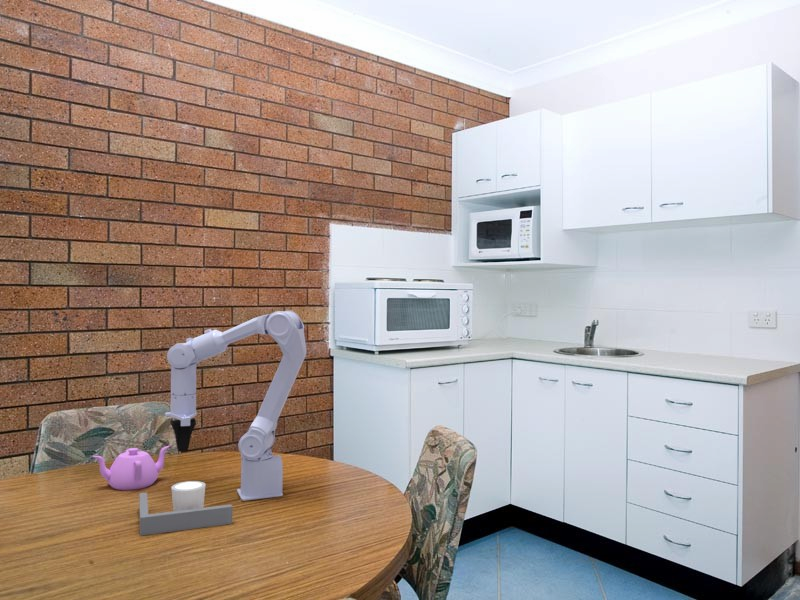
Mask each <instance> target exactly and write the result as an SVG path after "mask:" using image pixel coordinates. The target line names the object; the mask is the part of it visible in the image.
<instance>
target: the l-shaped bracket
mask: <svg viewBox="0 0 800 600" xmlns="http://www.w3.org/2000/svg"><path fill="white" fill-rule="evenodd" d="M148 504H149V503H148V492H139V504H138V505H139V506H138V507H139V508H138V509H139V510H138V511H139V513H138V515H139V516H138V517H139V536H140V537H141V536H149V535H156V534H163V533H172V532H180V531H186V530H187V531H188V530H194V529H202V528H209V527H210V528H211V527H217V526H225V525H232V524H233V511H234V510H233V505H232V503H231V504H223V505H216V506H215V505H214V506H208V507H207V506H206V507H203V508H197V509H189V510H180V511H173V510H172V511H165V512H156V513H149V505H148Z"/></svg>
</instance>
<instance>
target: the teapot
mask: <svg viewBox="0 0 800 600" xmlns="http://www.w3.org/2000/svg"><path fill="white" fill-rule="evenodd" d="M170 447H171V445H170V444H169V445H166V446H164V447H162V448H160V451H159V454H158V455H159V456H158V460H157V462H155V461H154V459H153V457H152V456H151V455H150V454H149V453H148V452H147V451H143V450H140V451H139V448H138V447H130V448H127V449H125V451H124V452H122V453H120V454H119V455H117V457H116V458H115V460H114V461H113V463H112V465H111V466H110V468H107V467H106V462H105V461H106V460H105V459H104V457H103V456H100V455H92V457H93V458H94V459H96V460H97V462H98V465H99V473H100V475H101V477H102V478H103V479H105V480H106V481H107V483H108V485H110V487H111V488H112V489H114V490H119V491H133V490H139V489H144V488H147V487H148V488H149V486H151V485H153V484H154V483H155V481H157V479H158V476H159V474H160V472H161V471H162V470H163V468H164V465H165V455H166V454H165V453H166V452H167V450H168V449H169V448H170Z"/></svg>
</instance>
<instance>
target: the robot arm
mask: <svg viewBox="0 0 800 600" xmlns="http://www.w3.org/2000/svg"><path fill="white" fill-rule="evenodd" d="M256 334H260V335H269V336H270V337H271V338H272V339H273V340H274V341H275V342H276V343H277V345H278V346H279V348H280V350H281V353H282V354H283V355H282V358H281V359H280V362H279V364H278V366H277V368H276V369H277V370H276V371H275V373H274V375H273V379H272V380H271V382H270V384H269V387H268V389H267V392H266V394H265V396H264V399H263V401H262V403H261V405H260V408H259V410H258V412H257V415H256V416H255V418H254V419H253V421H252V423H251V424H250V426H249V428H248V430H247V431H246V432H245V434H243V435H242V436H241V437H240V439H239V441H238V445H237V446H238V447H237V448H238V451H239V454H240V457H241V459H240V462H241V463H240V488H237V489H236V492H237V493H238V494H237V495H239V498H240V500H241V501H244V502H245V501H246V502H247V501H251V500H252V501H253V500H261V499H270V498H276V497H277V498H278V497H283V496H284V494H283V476H284V474H283V471H284V468H283V466H284V465H283V460H282V456H281V455H279V454H274V453H273V452H272V449H271V447H272V446H273V445H274V443H275V440H276V436H275V435H276V430H277V427H278V420H279V418H280V415H281V413H282V410H284V409H283V408H284V406H285V404H286V402H287V399H288V397H289V395H290V393H291V390H292V388H293V385H294V383H295V381H296V379H297V377H298V374H299V373H300V372H299V371H300V369H301V368H302V365H303V363H304V360H305V358H306V356H307V351H308V350H307V344H306V338H305V324H304V323H303V321H302V320H301V318H300V316H299V315H298V314H297V313H296V312H294V311H293V310H283V311H281V310H278V311H274V312H272V313H269V314H268V313H267V314H263V315H260V316H257V317H256V316H255V317H254V318H252V319H249V320H247V321H245V322H242V323H241V324H238V325H236V326H234V327H231V328H229V329H227V330H225V331H220V330H218V329H213V330H212V329H206V330H204V334H200V335H198V336H196V337H194V338H192V337H187V338H186V340H185V341H186V342H181V343H179V342H177V343H176V344H174V345H173V346H171V347H170V348H169V349H168V350H167V353H166V358H167V363H168V364H169V365H170V411H167V412H165V413H164V416H165V417H166V418H167V417H170V418H172V419H173V420H170V426H171V428H172V429H173V432H174V435H175V436H174V437H175V442H176V443H175V444H176V448H177V451H178V452H188V451H189V447H190V442H191V437H192V433H193V431H194V429H195V427H196V425H197V421H196V420H197V419H196V418H194V417H196V416H197V415H198V412H197V364H198V363H199V362H203V361H205V360H207V359H210V358H213V357H215V356H217V355H220V354H222V353H224V352H226V350H227V348H228V345H229V344H231V343H234V342H235V343H236V342H237V341H240V340H242V339H246V338H248V337H251V336H254V335H256Z"/></svg>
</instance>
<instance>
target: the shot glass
mask: <svg viewBox="0 0 800 600" xmlns="http://www.w3.org/2000/svg"><path fill="white" fill-rule="evenodd" d="M170 488H171V498H172V509H173V510H172V511H180V510H189V509H197V508H204V506H205V505H204V504H205V495H206V493H205V492H206V482H204V481H198V480H188V481H187V480H186V481H182V482H177V483H175V484H173V485H171V487H170Z"/></svg>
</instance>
